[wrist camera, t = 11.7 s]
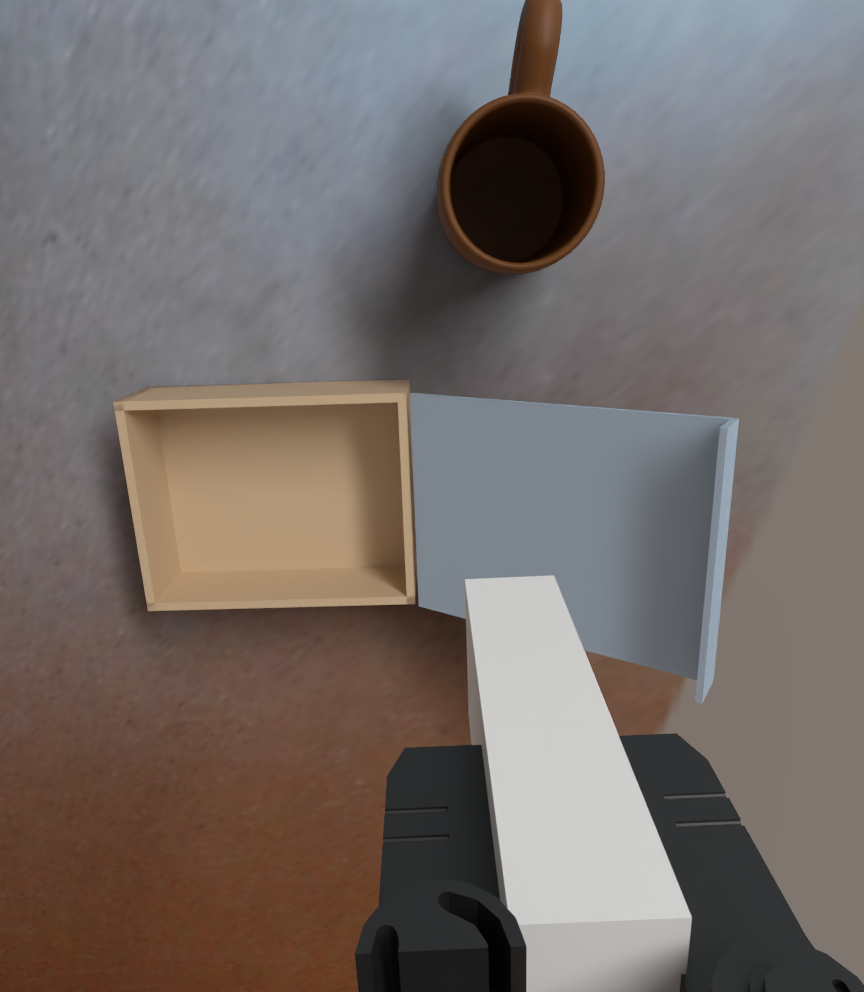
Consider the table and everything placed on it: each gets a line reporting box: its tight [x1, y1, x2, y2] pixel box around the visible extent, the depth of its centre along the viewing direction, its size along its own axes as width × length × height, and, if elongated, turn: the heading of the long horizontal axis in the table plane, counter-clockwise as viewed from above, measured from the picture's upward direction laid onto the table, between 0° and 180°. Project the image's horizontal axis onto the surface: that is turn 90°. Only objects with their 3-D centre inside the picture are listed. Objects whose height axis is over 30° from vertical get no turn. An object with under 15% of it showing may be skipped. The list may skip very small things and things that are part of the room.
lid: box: [410, 393, 739, 703], centre depth 36 cm, size 17×13×2 cm
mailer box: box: [113, 379, 417, 611], centre depth 44 cm, size 16×13×5 cm
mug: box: [437, 0, 605, 274], centre depth 36 cm, size 12×8×9 cm, turn 174°
